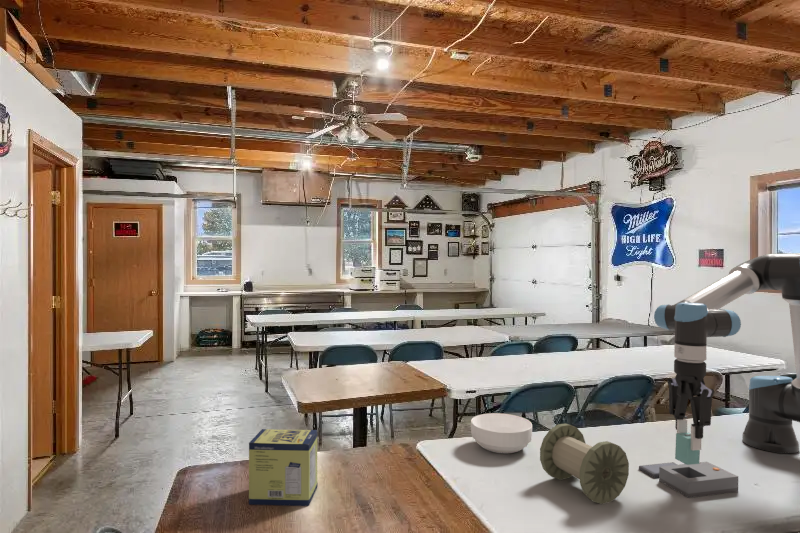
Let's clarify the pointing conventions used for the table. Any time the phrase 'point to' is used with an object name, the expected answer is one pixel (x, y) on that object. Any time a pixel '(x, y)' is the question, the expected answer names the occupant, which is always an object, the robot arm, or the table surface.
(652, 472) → the phone
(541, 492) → the table surface
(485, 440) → the bowl
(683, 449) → the block
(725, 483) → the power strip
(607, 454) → the spool
